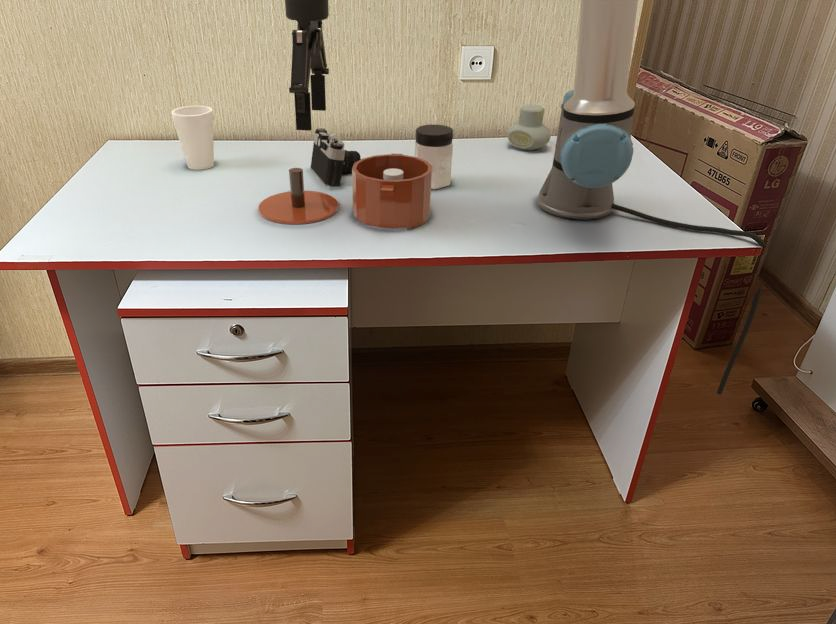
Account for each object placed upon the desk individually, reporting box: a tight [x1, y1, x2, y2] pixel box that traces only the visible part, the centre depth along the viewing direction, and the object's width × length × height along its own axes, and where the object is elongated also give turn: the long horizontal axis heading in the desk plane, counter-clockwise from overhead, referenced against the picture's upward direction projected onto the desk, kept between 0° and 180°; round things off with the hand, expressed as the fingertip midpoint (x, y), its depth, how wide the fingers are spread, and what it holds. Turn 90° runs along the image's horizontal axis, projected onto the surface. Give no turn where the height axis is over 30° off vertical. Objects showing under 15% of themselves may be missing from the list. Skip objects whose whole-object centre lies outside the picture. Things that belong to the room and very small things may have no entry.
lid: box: [257, 167, 339, 225], centre depth 130 cm, size 17×17×9 cm
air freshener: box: [506, 104, 552, 151], centre depth 163 cm, size 11×8×10 cm
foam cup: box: [170, 105, 215, 171], centre depth 153 cm, size 10×9×13 cm
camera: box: [310, 126, 362, 188], centre depth 147 cm, size 15×11×10 cm
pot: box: [351, 153, 432, 230], centre depth 128 cm, size 16×21×10 cm
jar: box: [414, 124, 454, 190], centre depth 142 cm, size 9×8×12 cm
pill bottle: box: [383, 169, 403, 180], centre depth 128 cm, size 5×5×8 cm
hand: (311, 119), depth 122 cm, fingers open, 13 cm apart
